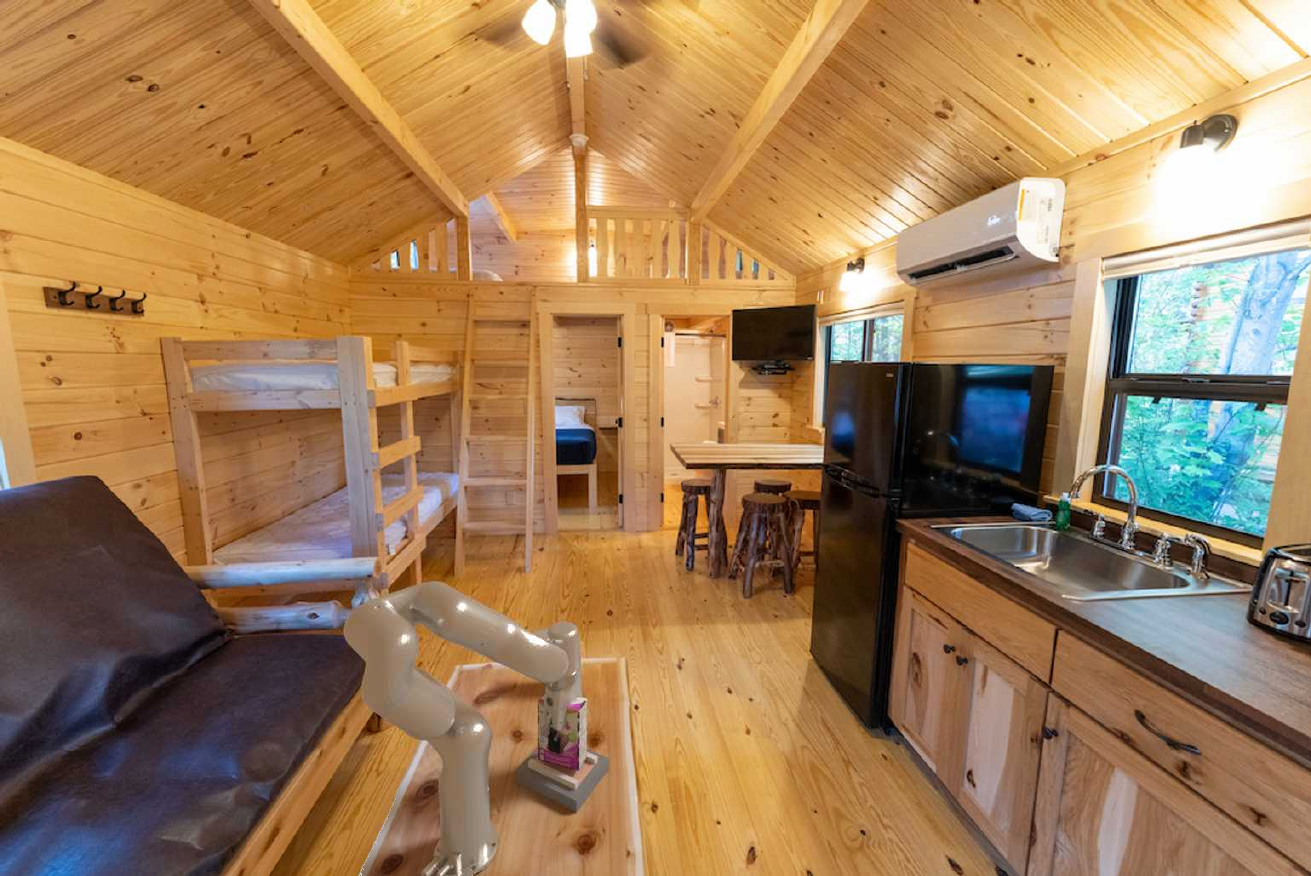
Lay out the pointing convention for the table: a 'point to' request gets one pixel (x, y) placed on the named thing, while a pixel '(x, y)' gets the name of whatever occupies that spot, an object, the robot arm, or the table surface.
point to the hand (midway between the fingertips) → (562, 742)
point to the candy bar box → (566, 736)
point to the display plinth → (563, 779)
